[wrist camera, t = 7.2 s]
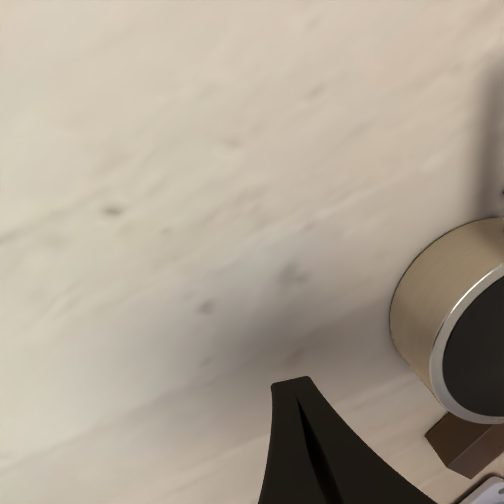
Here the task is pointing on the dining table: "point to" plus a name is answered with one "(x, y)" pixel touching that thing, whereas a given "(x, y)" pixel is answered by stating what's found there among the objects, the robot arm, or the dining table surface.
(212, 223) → the dining table surface
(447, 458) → the corner stop
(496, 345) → the steel pan
